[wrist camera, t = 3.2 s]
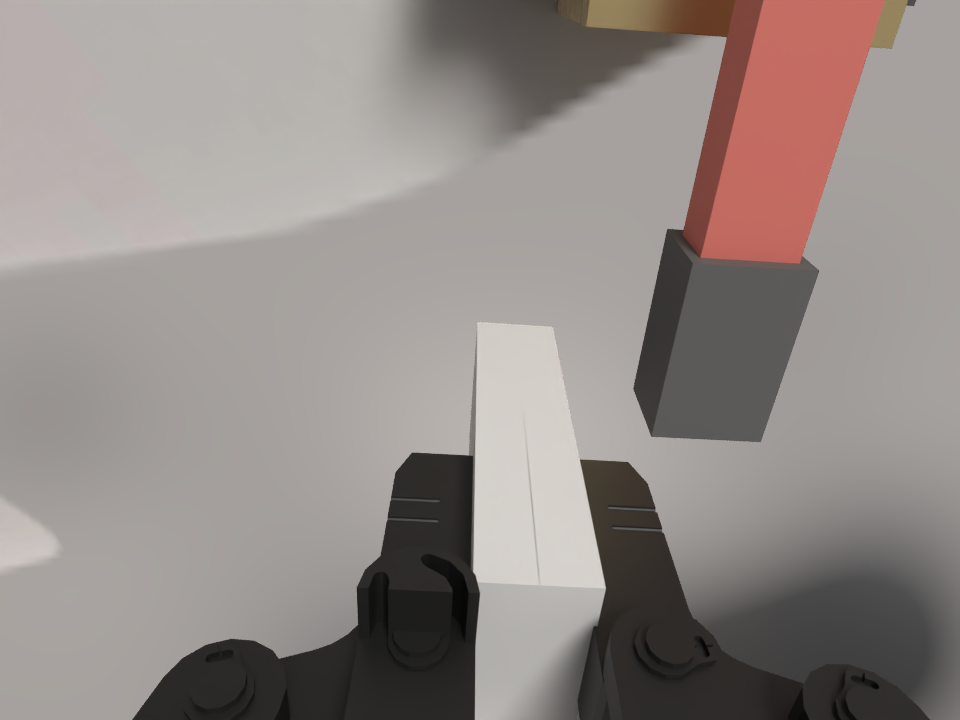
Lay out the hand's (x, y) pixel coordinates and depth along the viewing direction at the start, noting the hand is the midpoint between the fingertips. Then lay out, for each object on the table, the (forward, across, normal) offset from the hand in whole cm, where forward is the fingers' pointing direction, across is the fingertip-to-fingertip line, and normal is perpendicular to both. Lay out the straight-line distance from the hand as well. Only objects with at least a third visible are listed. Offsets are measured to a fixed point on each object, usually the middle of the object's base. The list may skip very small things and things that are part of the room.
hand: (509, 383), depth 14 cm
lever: (+5, +6, +4) cm, 9 cm away
